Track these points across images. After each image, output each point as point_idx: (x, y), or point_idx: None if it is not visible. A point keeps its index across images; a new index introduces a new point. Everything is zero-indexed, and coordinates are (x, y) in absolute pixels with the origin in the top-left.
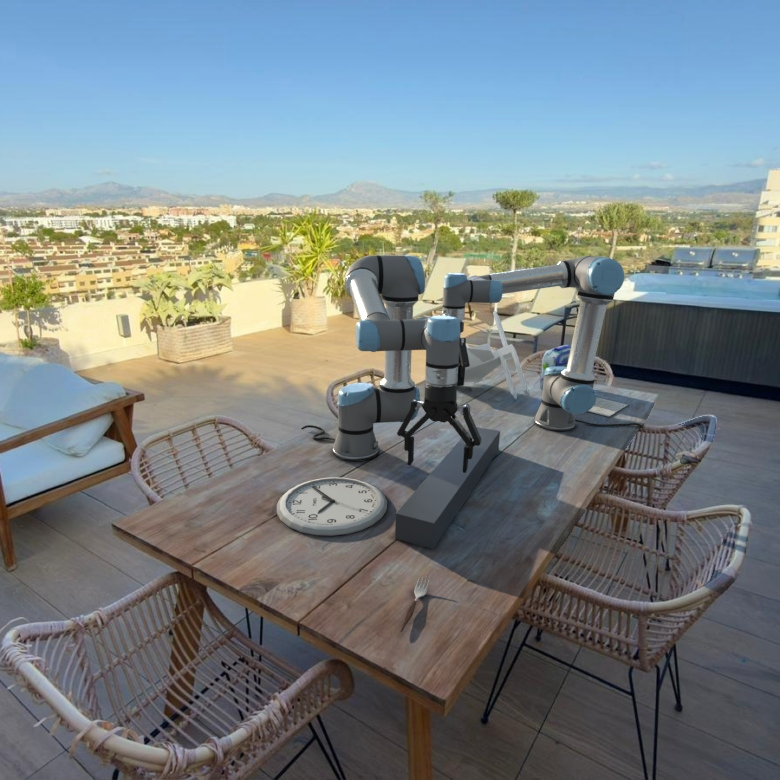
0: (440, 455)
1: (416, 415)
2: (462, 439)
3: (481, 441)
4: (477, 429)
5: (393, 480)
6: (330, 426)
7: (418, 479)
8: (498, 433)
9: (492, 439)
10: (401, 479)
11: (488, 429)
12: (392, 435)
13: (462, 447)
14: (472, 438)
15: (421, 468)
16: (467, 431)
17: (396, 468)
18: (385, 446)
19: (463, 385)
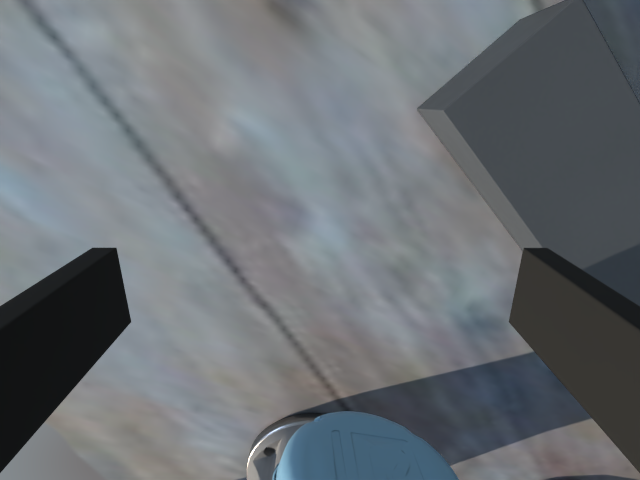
0: (444, 266)
1: (433, 448)
2: (552, 245)
3: (620, 179)
4: (495, 110)
5: (513, 439)
6: (97, 464)
7: (545, 389)
8: (597, 27)
9: (636, 114)
10: (520, 423)
11: (527, 49)
12: (223, 335)
13: (615, 286)
14: (569, 198)
15: (493, 356)
16: (490, 174)
17: (457, 411)
18: (304, 385)
19: (549, 253)
